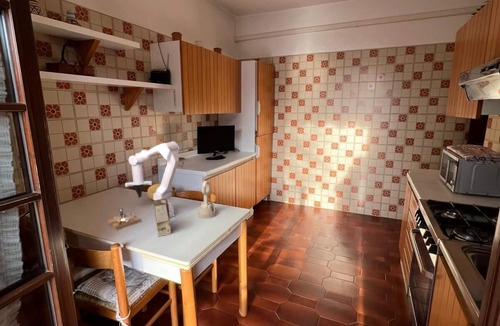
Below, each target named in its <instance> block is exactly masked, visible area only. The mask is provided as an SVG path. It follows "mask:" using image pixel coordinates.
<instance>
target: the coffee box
mask: <svg viewBox="0 0 500 326" xmlns="http://www.w3.org/2000/svg"><path fill="white" fill-rule="evenodd" d="M153 203H154V217H155V226H156V233H157V237H163V236H168V235H171V233H172V230H171V220H170V218H171V217H170V216H169V204H168V201H167V199H159V200H153Z"/></svg>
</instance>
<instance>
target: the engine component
mask: <svg viewBox="0 0 500 326" xmlns="http://www.w3.org/2000/svg"><path fill="white" fill-rule="evenodd" d="M210 190H211V183H210V181H209V180H204V181H203V182H202V186H201V192H202V194H203V201H202V202H201V205H200V206H197V217H198V218H200V219H203V220H205V219H206V220H207V219H212V218H214V217H215V216H216V208H215V207H216V206H215V205H216V204H215V202H213V201H209V200H210V199H209V198H210V197H209V196H210V195H209V193H210Z"/></svg>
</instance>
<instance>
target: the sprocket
mask: <svg viewBox="0 0 500 326" xmlns="http://www.w3.org/2000/svg"><path fill="white" fill-rule="evenodd" d="M130 213H131V212H127V213H124V210H123V208H119V215H117V216H115V215H114V216H113V218H114V219H113V218H112V219H113V222H118V219H120V223H123V222H126V223H127V222H128V221H130V220H133V219H134V216H135V214H134V213H131V214H130ZM118 224H119V223H118Z"/></svg>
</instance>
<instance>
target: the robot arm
mask: <svg viewBox="0 0 500 326" xmlns="http://www.w3.org/2000/svg"><path fill="white" fill-rule="evenodd" d="M179 153H180V147H179V145H178V143H177V142H176V141H169V142H166V143H164V142H163V143H160V144H157V145H156V146H154V147H152V148H150V149H149V150H148V149H142V150H141V151H139V152H136V153H135V154H134V155H130V156H129V157H128V163H129V165H131V174H132V181H129V182H125V183H124V185H125V187H126V188H127V187H133V189H134V191H135V192H136V194H137V197H138V198H142V195H143V189H144V186H149V185H150V186H151V185H153V180H144V172H143V166H144V162H147V161H148V160H150V159H151V158H152V156H153V155H156V154H160V155H161V156H162V157H163V159H165V160H166V161H167V163H166V167H165V170H164V172H163V175H162V178H161V182H160V184H161V185H160V186H159V188H158V189H157V190H156V192H155V193H154V194H153V199H154V200H159V199H167V201H168V204H169V216H170V218H173V217H175V216H176V214H175V212H174V205H173V203H171V198H172V196H173V188H172V183H173V180H174V177H175V174H176V171H177V168H178V165H179V161H180V157H179ZM154 200H153V201H154Z"/></svg>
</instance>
